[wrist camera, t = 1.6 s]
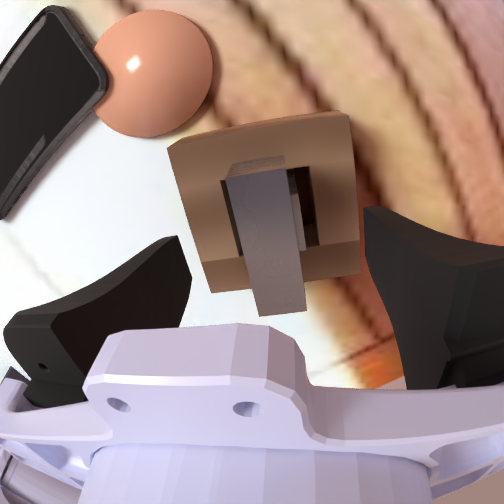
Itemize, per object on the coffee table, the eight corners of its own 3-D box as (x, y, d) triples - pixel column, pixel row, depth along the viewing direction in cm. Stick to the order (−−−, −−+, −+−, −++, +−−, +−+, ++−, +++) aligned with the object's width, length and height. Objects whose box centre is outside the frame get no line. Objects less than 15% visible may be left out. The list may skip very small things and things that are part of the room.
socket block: (351, 249, 18) (360, 273, 16) (218, 268, 19) (211, 293, 17) (337, 110, 14) (348, 115, 12) (181, 138, 16) (166, 148, 13)
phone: (-49, 155, 15) (52, -3, 10) (-39, 150, 16) (62, 0, 11) (-4, 228, 18) (114, 86, 13) (4, 222, 19) (124, 85, 14)
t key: (304, 240, 18) (314, 309, 13) (259, 247, 18) (252, 317, 13) (287, 136, 15) (294, 166, 10) (236, 145, 16) (216, 180, 10)
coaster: (226, 118, 15) (225, 119, 15) (107, 151, 16) (104, 152, 16) (197, -6, 12) (195, -8, 11) (79, 40, 13) (75, 40, 12)
